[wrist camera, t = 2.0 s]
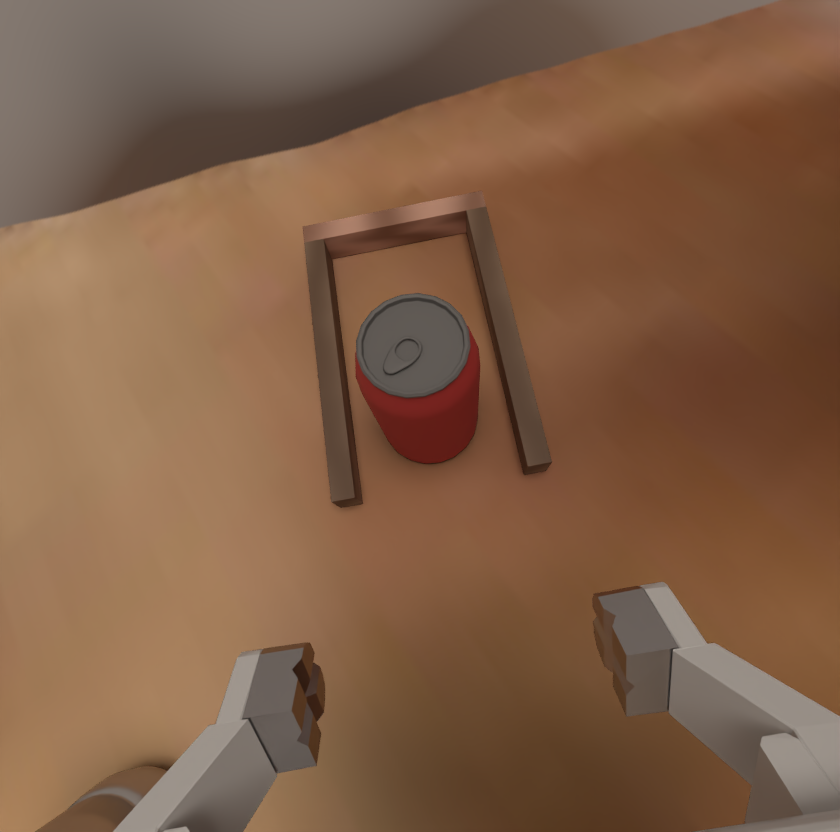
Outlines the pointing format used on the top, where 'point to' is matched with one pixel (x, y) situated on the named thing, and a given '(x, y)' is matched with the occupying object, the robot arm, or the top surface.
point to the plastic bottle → (107, 802)
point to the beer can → (420, 376)
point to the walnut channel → (336, 411)
